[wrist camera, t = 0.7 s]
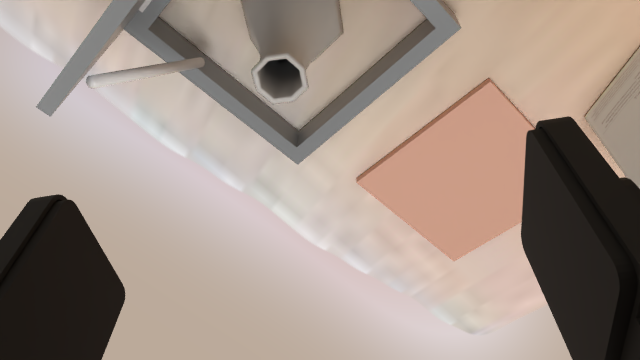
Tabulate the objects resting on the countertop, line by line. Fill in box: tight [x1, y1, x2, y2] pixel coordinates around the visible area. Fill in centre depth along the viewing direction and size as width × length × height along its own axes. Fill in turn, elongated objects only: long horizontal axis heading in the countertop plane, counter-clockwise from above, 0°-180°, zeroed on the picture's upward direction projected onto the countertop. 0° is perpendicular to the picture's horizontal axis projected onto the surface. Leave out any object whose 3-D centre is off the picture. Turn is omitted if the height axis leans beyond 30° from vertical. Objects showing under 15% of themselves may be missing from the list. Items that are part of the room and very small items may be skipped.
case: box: [36, 0, 461, 164], centre depth 32 cm, size 16×17×14 cm
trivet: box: [357, 78, 535, 261], centre depth 46 cm, size 14×14×1 cm
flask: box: [241, 0, 343, 104], centre depth 34 cm, size 7×7×10 cm
